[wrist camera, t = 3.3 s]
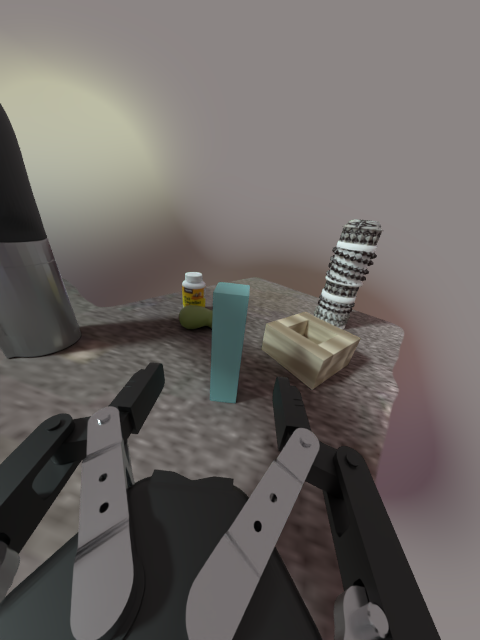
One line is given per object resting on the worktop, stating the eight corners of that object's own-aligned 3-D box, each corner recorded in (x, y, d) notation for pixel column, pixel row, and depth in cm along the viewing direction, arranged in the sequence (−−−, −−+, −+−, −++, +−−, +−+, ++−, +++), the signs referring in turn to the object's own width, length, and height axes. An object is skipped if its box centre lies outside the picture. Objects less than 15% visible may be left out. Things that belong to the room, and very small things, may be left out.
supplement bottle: (180, 316, 47) (178, 276, 42) (186, 307, 52) (184, 270, 47) (203, 318, 47) (203, 278, 43) (206, 308, 52) (207, 272, 48)
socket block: (312, 389, 30) (323, 360, 27) (261, 349, 38) (266, 323, 35) (348, 364, 37) (360, 338, 34) (298, 334, 45) (305, 311, 42)
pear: (180, 299, 42) (223, 305, 46) (177, 320, 44) (218, 324, 48) (180, 310, 38) (228, 315, 41) (177, 333, 40) (223, 336, 43)
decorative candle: (317, 329, 48) (354, 218, 36) (307, 313, 56) (335, 218, 44) (352, 333, 48) (401, 223, 36) (337, 316, 56) (373, 222, 44)
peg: (235, 403, 26) (248, 296, 19) (209, 400, 26) (213, 292, 19) (237, 383, 30) (249, 285, 22) (214, 381, 30) (219, 282, 22)
